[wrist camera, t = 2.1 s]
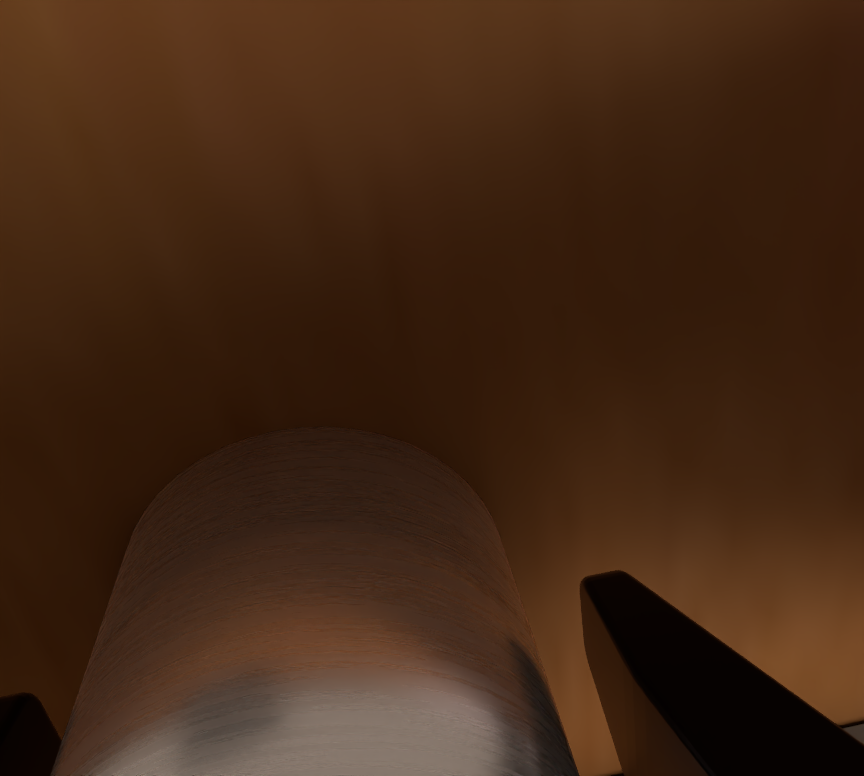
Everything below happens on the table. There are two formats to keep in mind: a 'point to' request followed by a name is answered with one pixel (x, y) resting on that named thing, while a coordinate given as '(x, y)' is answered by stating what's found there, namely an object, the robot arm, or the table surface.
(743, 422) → the table surface
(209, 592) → the grey cylinder
